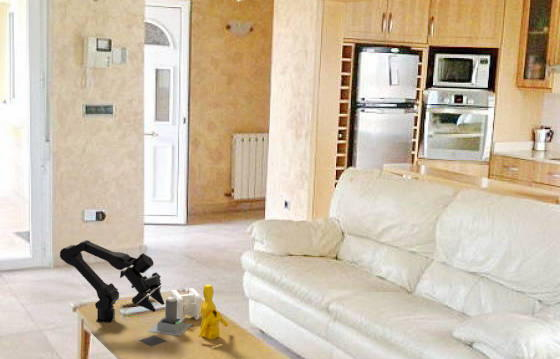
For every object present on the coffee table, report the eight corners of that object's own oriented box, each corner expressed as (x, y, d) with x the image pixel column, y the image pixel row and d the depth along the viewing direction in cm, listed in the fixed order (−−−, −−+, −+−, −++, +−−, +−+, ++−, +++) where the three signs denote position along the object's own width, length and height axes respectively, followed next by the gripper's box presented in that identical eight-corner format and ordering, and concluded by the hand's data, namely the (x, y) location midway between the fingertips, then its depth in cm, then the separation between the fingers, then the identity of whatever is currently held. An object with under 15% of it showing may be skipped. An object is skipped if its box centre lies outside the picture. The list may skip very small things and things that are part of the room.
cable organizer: (200, 322, 300) (201, 297, 299) (177, 324, 296) (178, 299, 295) (191, 310, 314) (192, 286, 312) (169, 312, 310) (169, 288, 308)
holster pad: (138, 341, 276) (138, 340, 276) (154, 336, 282) (154, 335, 282) (150, 347, 270) (150, 346, 270) (166, 342, 276) (166, 341, 276)
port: (148, 332, 285) (148, 322, 285) (161, 321, 299) (162, 311, 298) (179, 337, 282) (180, 327, 282) (191, 325, 296) (192, 316, 295)
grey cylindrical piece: (163, 328, 289) (164, 299, 287) (167, 324, 293) (168, 295, 291) (173, 330, 288) (174, 300, 286) (178, 326, 292) (178, 297, 290)
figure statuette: (202, 345, 275) (204, 293, 272) (188, 340, 280) (190, 289, 277) (231, 333, 289) (233, 284, 286) (217, 328, 294) (219, 279, 291)
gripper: (140, 274, 280) (163, 303, 279) (158, 262, 298) (180, 290, 297) (121, 289, 283) (145, 319, 282) (140, 277, 301) (162, 304, 300)
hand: (159, 307), depth 290 cm, fingers open, 9 cm apart
